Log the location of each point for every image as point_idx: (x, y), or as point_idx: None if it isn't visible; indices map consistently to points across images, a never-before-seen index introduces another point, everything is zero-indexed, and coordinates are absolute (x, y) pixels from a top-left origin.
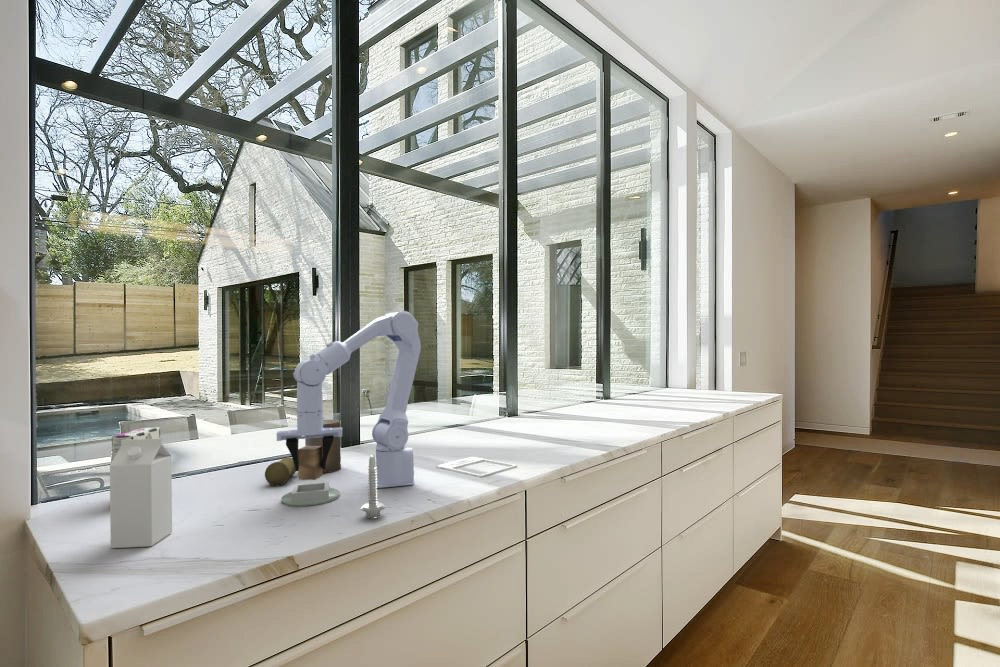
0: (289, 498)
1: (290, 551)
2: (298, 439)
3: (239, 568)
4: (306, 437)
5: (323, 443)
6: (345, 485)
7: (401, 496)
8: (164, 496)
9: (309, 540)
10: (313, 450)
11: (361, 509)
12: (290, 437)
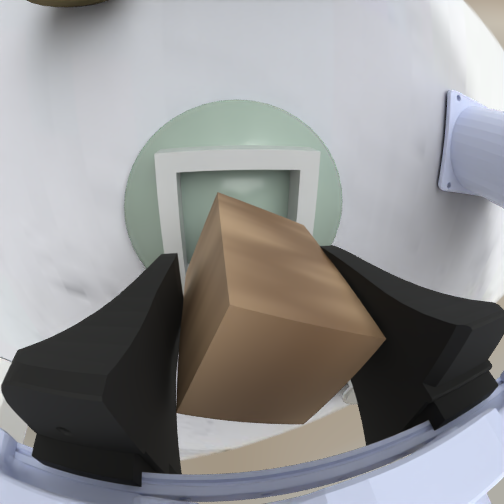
0: (156, 236)
1: (226, 445)
2: (108, 375)
3: (180, 456)
4: (259, 487)
5: (371, 438)
6: (366, 85)
7: (447, 275)
8: (7, 429)
9: (247, 431)
10: (294, 417)
11: (342, 397)
12: (91, 488)
